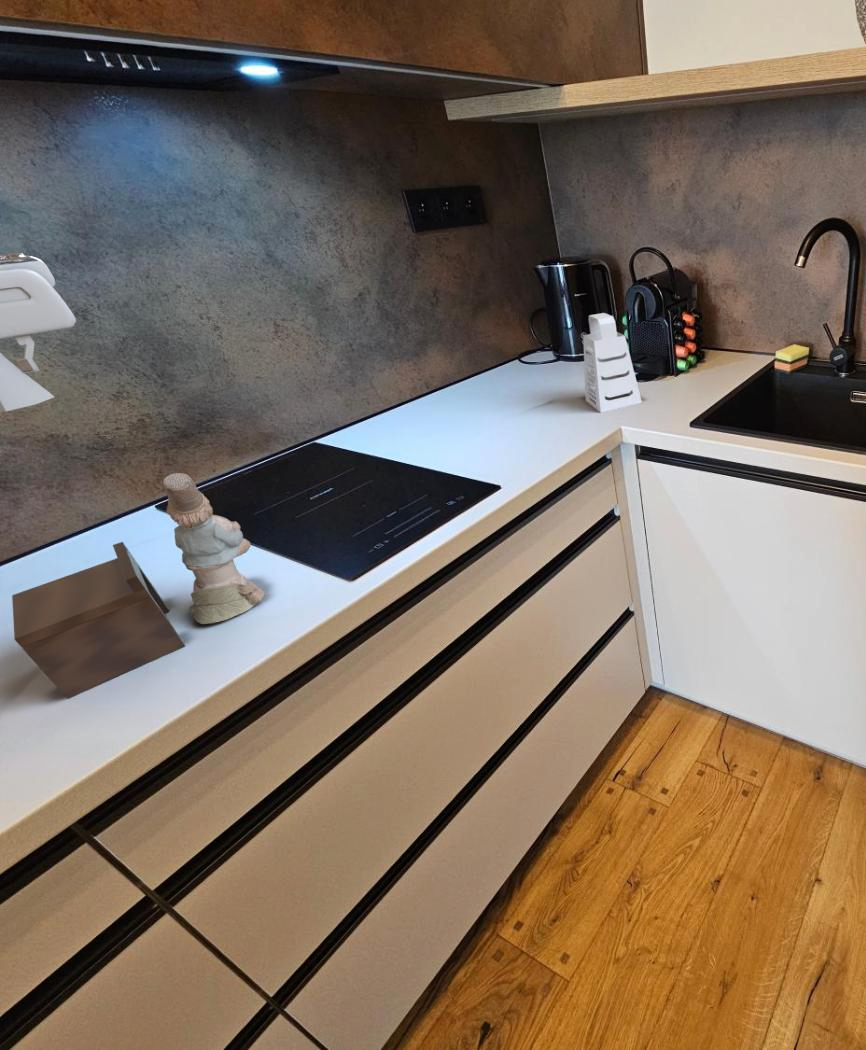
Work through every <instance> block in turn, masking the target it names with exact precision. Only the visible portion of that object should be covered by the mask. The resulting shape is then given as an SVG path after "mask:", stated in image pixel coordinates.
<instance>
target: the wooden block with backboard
mask: <svg viewBox="0 0 866 1050" xmlns="http://www.w3.org/2000/svg"><path fill="white" fill-rule="evenodd" d="M112 548H113V550H114V553H115V555H116V558H114V559H113V558H112V559H110V560H108V561H105V562H103V563H99V564H97V565H94V566H91V567H88V568H86V569H82V570H79V571H76V572H75V573H71V574H68V575H65V576H63V577H59V578H56V579H54V580H52V581H48V582H45V583H42V584H39V585H37V586H33V587H32V588H28V589H25V590H23V591H20V592H17V593H15V594H12V595H11V599H12V600H11V601H12V618H13V621H12V622H13V632H14V633H13V637H14V641H15V642H16V643H17V644H18V645H19V646H20V647H21V648H22V650H23V651H24V652H25V653H26V655H28V657H29V658H30V659H31V660H32V661H33V662H34V663H35V664H36V666H37V667H38V668H39V669H40V670H41V671H42V673H44V674H45V676H46V677H47V678H48V679H49V680H50V681H51V682H52V683H53V684H54V685H55V687H56V688H57V689H58V690H59V691H60V693H62V694H63V696H64V697H65V698H66V699H68V700H69V699H71V698H73V697H75V696H77V695H80V694H82V693H84V692H86V691H89V690H90V689H93V688H95V687H98V686H100V685H102V684H105V683H106V682H108V681H111V680H113V679H116V678H118V677H120V676H122V675H124V674H127V673H129V672H131V671H134V670H135V669H139V668H140V667H142V666H145V665H147V664H149V663H151V662H153V661H155V660H157V659H158V660H159V659H160V658H162V657H164V656H167V655H169V654H171V653H173V652H176V651H178V650H180V649H183V648H185V647H186V644H185V641H183V639H182V637H181V636H180V635H179V633H178V632H177V630H176V628H175V627H174V626H173V624H172V623H171V621H170V620H169V619H168V617H167V615H165V614H166V613H168V612H170V608H169V607H168V606H167V604H166V602H165V600H163V598H162V596H161V595H160V594H159V593H158V591H157V589H156V588H155V586H154V585H153V583H152V582H151V581H150V580H149V578H148V576H147V575H146V573H145V572H144V571H143V569H142V567H141V566H140V564H139V563H138V561H136V559H135V557H134V556H133V554H132V553H131V552H130V550H129V549H128V547H127V546H126V544H125V543H124V541H121V542H117V543H115V544H112Z"/></svg>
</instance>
